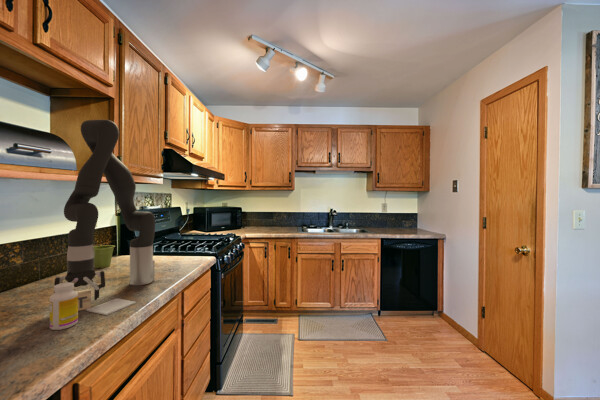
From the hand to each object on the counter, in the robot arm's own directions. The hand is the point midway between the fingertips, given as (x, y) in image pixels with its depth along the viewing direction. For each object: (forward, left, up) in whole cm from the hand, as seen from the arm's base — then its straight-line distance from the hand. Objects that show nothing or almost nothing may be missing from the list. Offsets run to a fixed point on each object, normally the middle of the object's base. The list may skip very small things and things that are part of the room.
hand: (80, 302), depth 96 cm
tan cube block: (0, 0, -2) cm, 2 cm away
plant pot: (-41, -49, -2) cm, 64 cm away
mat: (-4, +10, -2) cm, 11 cm away
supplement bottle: (+11, +10, -2) cm, 15 cm away
